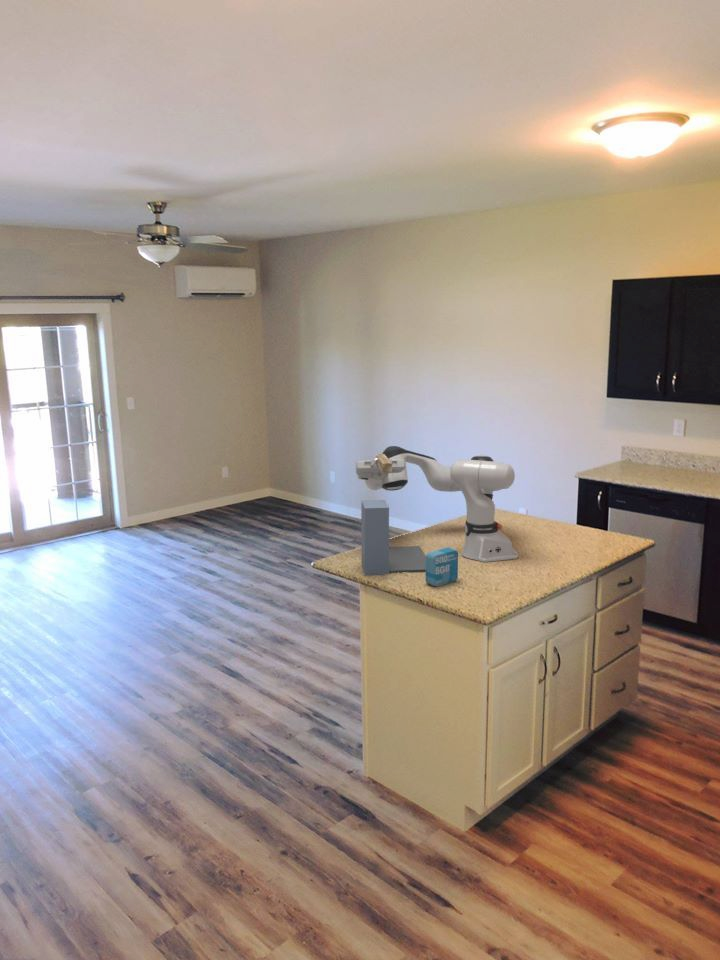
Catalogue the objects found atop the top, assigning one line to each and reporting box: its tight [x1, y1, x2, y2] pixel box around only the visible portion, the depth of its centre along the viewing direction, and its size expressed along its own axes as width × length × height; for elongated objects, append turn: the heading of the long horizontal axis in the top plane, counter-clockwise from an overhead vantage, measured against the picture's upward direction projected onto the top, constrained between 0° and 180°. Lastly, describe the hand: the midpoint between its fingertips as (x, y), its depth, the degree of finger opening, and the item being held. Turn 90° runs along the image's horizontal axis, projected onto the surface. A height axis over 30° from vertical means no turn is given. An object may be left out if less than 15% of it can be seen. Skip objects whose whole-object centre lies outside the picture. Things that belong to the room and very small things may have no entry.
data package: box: [424, 547, 459, 587], centre depth 272 cm, size 12×4×12 cm, turn 126°
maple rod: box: [375, 453, 392, 473], centre depth 295 cm, size 4×20×4 cm, turn 7°
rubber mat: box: [389, 545, 426, 574], centre depth 299 cm, size 17×30×1 cm, turn 6°
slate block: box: [360, 499, 390, 577], centre depth 284 cm, size 9×12×26 cm
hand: (382, 460), depth 298 cm, fingers closed on maple rod, 3 cm apart
